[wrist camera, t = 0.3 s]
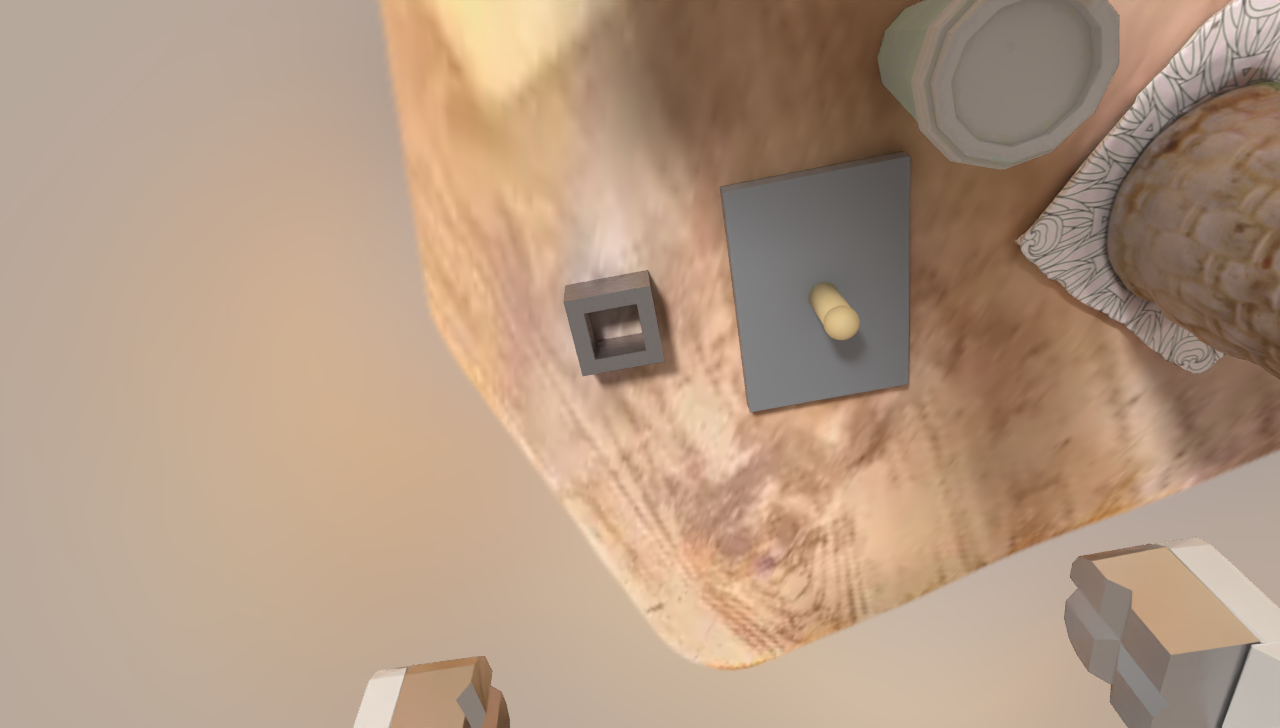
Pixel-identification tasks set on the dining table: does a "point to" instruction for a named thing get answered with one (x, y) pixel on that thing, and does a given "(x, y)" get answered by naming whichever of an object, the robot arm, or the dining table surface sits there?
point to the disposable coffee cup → (1000, 73)
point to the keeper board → (821, 280)
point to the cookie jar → (1184, 202)
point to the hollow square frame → (620, 349)
